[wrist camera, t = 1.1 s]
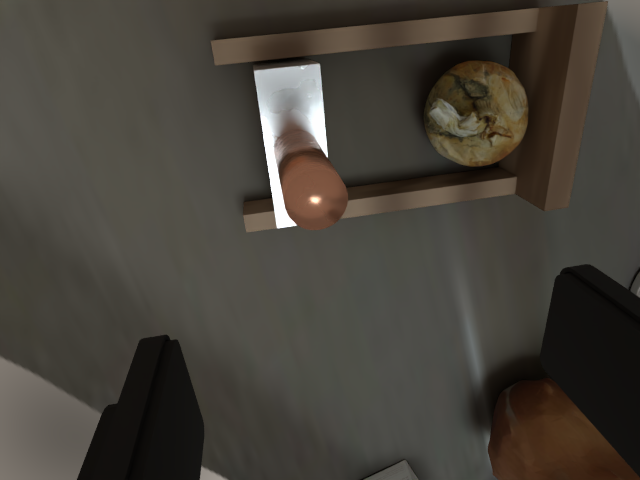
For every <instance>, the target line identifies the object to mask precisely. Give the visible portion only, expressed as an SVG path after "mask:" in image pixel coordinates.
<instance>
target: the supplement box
mask: <svg viewBox="0 0 640 480" xmlns="http://www.w3.org/2000/svg"><path fill="white" fill-rule="evenodd" d="M364 480H419V479H418V478H417V476H416V475H415V473H414V472H413V470H412V469H411V467H410V466H409V464H408V463H407V461H406V460H403V461H401V462H399V463H397V464H395V465H393V466H391V467H389V468H387V469H385V470H383V471H381V472H379V473H376V474H374V475H372V476H370V477H368V478H366V479H364Z"/></svg>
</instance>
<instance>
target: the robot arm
mask: <svg viewBox="0 0 640 480" xmlns="http://www.w3.org/2000/svg"><path fill="white" fill-rule="evenodd" d="M540 361H541V364H542V367H543V369H544V370H545V371H546V372H547V374H548V375H549V376H550V377H551V378H552V379H553V380H554V381H555V383H556V384H557V385H558V386H559V387H560V388H561V389H562V390H563V392H564V393H565V394H566V395H567V396H568V397H569V398H570V399H571V401H572V402H573V403H574V404H575V405H576V406H577V407H578V409H579V410H580V411H581V412H582V413H583V414H584V415H585V416H586V418H587V419H588V420H589V421H590V422H591V423H592V424H593V425H594V427H595V428H596V429H597V430H598V431H599V432H600V433H601V434H602V436H603V437H604V438H605V439H606V440H607V441H608V442H609V444H610V445H611V446H612V447H613V448H614V449H615V450H616V451H617V453H618V454H619V455H620V456H621V457H622V458H623V459H624V460H625V462H626V463H627V464H628V465H629V466H630V467H631V468H632V469H633V471H634V472H635V473H636V474H637V475H638V476H639V477H640V272H639V273H638V275H637V276H636V278H635V280H634V282H633V284H632V287H631V290H630V291H629V290H628V289H626V288H625V287H623V286H622V285H620V284H619V283H617V282H616V281H614V280H613V279H611V278H610V277H608V276H607V275H605V274H604V273H603V272H601V271H600V270H598V269H597V268H595V267H594V266H591V265H587V264H585V265H579V266H573V267H567V268H564V269H563V270H562V271H561V272H560V275H558V276H557V277H556V279H555V282H554V287H553V292H552V298H551V303H550V308H549V313H548V318H547V323H546V328H545V333H544V338H543V343H542V348H541V353H540ZM203 443H204V423H203V418H202V415H201V412H200V409H199V405H198V402H197V399H196V396H195V392H194V389H193V386H192V383H191V380H190V376H189V373H188V370H187V367H186V363H185V360H184V357H183V354H182V350H181V347H180V344H179V342H178V340H170V338H169V336H168V335H161V336H155V337H149V338H143V339H141V340H140V341H139V343H138V346H137V349H136V352H135V355H134V358H133V361H132V363H131V366H130V369H129V372H128V375H127V378H126V381H125V384H124V386H123V389H122V392H121V395H120V398H119V401H118V404H112V405H108V406H107V407H106V408H105V409H104V411H103V413H102V415H101V418H100V420H99V423H98V425H97V428H96V431H95V433H94V436H93V439H92V441H91V444H90V447H89V449H88V452H87V455H86V457H85V460H84V462H83V465H82V468H81V471H80V473H79V476H78V478H77V480H200V471H201V462H202V452H203Z"/></svg>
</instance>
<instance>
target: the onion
mask: <svg viewBox="0 0 640 480" xmlns="http://www.w3.org/2000/svg"><path fill="white" fill-rule="evenodd" d="M423 120H424V125H425V130H426V133H427V135H428V137H429V140H430V142H431V144H432V145H433V147H434V148H435V149H436V151H437V152H438V153H439V154H440V155H442V156H444V157H446V158H448V159H450V160H452V161H454V162H456V163H458V164H461V165H466V166H485V165H490V164H493V163H495V162H497V161H500V160H501V159H503V158H505V157H506V156H507V155H509V154H510V153H511V152H512V151H513V150H514V149H515V148H516V147H517V146H518V145H519V144H520V142H521V141H522V139H523V137H524V134H525V132H526V128H527V124H528V100H527V95H526V92H525V89H524V87H523V85H522V84H521V82H520V81H519V79H518V78H517V77H516V75H515V73H514V72H513V71H512V70H510V69H509V68H507V67H505V66H503V65H500V64H498V63H495V62H492V61H467V62H463V63H460V64H457V65H456V66H454V67H453V68H451V69H449V70H448V71H446V72H445V73H444V74H443V75H442V76H441V77H440V78H439V80H438V81H437V82H436V84H435V85H434V86H433V88H432V90H431V92H430V93H429V96H428V98H427V101H426V104H425V110H424V116H423Z"/></svg>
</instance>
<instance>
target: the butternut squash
mask: <svg viewBox="0 0 640 480" xmlns="http://www.w3.org/2000/svg"><path fill="white" fill-rule="evenodd" d="M488 454H489V457H490V461H491V465H492V469H493V475H494V476H495V477H496V478H497V479H498V480H640V477H639V476H638V475H637V474H636V473H635V472H634V471H633V469H632V468H631V467H630V466H629V465H628V464H627V463H626V462H625V460H624V459H623V458H622V457H621V456H620V455H619V454H618V453H617V451H616V450H615V449H614V448H613V447H612V446H611V445H610V444H609V442H608V441H607V440H606V439H605V438H604V437H603V436H602V434H601V433H600V432H599V431H598V430H597V429H596V428H595V427H594V425H593V424H592V423H591V422H590V421H589V420H588V419H587V418H586V416H585V415H584V414H583V413H582V412H581V411H580V410H579V409H578V407H577V406H576V405H575V404H574V403H573V402H572V401H571V399H570V398H569V397H568V396H567V395H566V394H565V393H564V392H563V390H562V389H561V388H560V387H559V386H558V385H557V384H556V383H555V381H553V380H551V379H549V378H544V379H542V380H535V381H529V380H521V381H519V382H517V383H515V384H514V385H512V386H510V387H508V388H507V389H505V390H503V391H502V392H501V393H500V395H499V397H498V400H497V403H496V406H495V409H494V415H493V422H492V428H491V435H490V441H489V445H488Z"/></svg>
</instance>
